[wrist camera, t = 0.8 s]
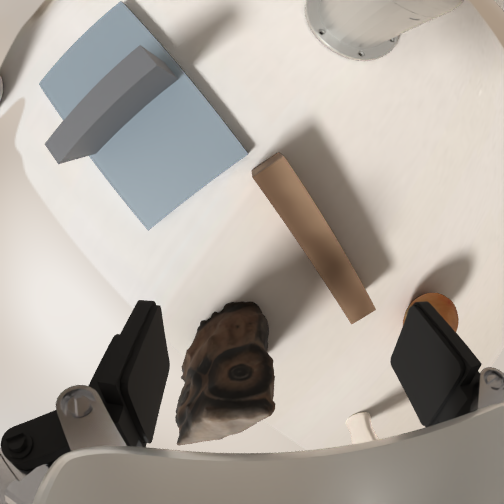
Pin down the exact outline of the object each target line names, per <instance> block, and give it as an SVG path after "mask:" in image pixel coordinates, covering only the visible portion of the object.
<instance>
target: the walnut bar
mask: <svg viewBox="0 0 504 504" xmlns="http://www.w3.org/2000/svg"><path fill="white" fill-rule="evenodd" d="M252 177H253V179H254V180H255V182H256V183H257V184H258V186H259V187H260V189H261V190H262V191H263V193H264V194H265V196H266V197H267V198H268V200H269V201H270V203H271V204H272V205H273V207H274V208H275V210H276V211H277V213H278V214H279V215H280V217H281V218H282V220H283V221H284V223H285V224H286V226H287V227H288V228H289V230H290V231H291V233H292V234H293V236H294V237H295V239H296V240H297V242H298V243H299V245H300V246H301V247H302V249H303V250H304V252H305V253H306V255H307V256H308V258H309V259H310V261H311V262H312V264H313V265H314V267H315V268H316V270H317V271H318V273H319V274H320V276H321V278H322V279H323V281H324V282H325V284H326V285H327V287H328V288H329V290H330V291H331V293H332V294H333V296H334V298H335V299H336V301H337V302H338V304H339V305H340V307H341V308H342V310H343V312H344V313H345V315H346V316H347V318H348V320H349V321H350V323H351V324H353V323H355V322H357V321H358V320H360V319H362V318H363V317H365V316H366V315H368V314H370V313H371V312H373V311H374V310H376V309H375V307H374V305H373V303H372V301H371V299H370V297H369V295H368V293H367V292H366V290H365V288H364V286H363V284H362V282H361V281H360V279H359V277H358V275H357V273H356V272H355V270H354V268H353V266H352V264H351V263H350V261H349V259H348V257H347V256H346V254H345V252H344V250H343V249H342V247H341V245H340V244H339V242H338V240H337V239H336V237H335V235H334V234H333V232H332V230H331V229H330V227H329V225H328V224H327V222H326V220H325V219H324V217H323V215H322V214H321V212H320V211H319V209H318V207H317V206H316V204H315V203H314V201H313V199H312V198H311V196H310V195H309V193H308V192H307V190H306V189H305V187H304V185H303V184H302V182H301V181H300V179H299V178H298V176H297V175H296V173H295V172H294V170H293V169H292V167H291V166H290V164H289V163H288V161H287V160H286V158H285V157H284V156H283V155H282V154H280V153H279V152H278V153H277V154H275V155H274V156H272V157H271V158H269V159H268V160H266V161H265V162H263V163H262V164H260V165H259V166H257V167H256V168H255V169H253V170H252Z"/></svg>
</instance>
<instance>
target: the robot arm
mask: <svg viewBox="0 0 504 504" xmlns="http://www.w3.org/2000/svg"><path fill="white" fill-rule="evenodd" d="M494 1H495V2H496V3H497V4H498V5H499V6H500V8H501V9H502V10H503V11H504V0H494ZM462 2H463V0H307V1H306V5H305V16H306V19H307V23H308V25H309V27H310V29H311V31H312V32H313V34H314V35H315V36H316V38H317V39H318V40H319V41H320V42H321V43H322V44H323V45H324V46H326V47H327V48H328V49H330V50H331V51H333V52H335V53H337V54H338V55H340V56H343V57H346V58H348V59H353V60H358V61H369V60H375V59H378V58H380V57H383V56H384V55H386V54H388V53H389V52H390V51H391V50H392V49H393V48H394V46H395V45H396V43H397V40H398V35H400V34H402V33H404V32H406V31H408V30H410V29H413V28H415V27H417V26H419V25H421V24H424V23H426V22H428V21H430V20H433V19H435V18H437V17H440V16H442V15H444V14H447V13H449V12H451V11H453V10H455V9H456V8H457V7H459V6H460V5H461V3H462ZM319 32H321V33H322V35H321V34H320V33H319ZM358 53H359V54H360V55H361V56H359V54H358ZM169 366H170V363H169V357H168V351H167V345H166V339H165V332H164V326H163V319H162V312H161V307H160V306H158V305H156V303H155V302H154V301H144V300H139V301H138V302H137V304H136V306H135V308H134V309H133V311H132V313H131V315H130V317H129V319H128V321H127V322H126V324H125V326H124V328H123V330H122V332H121V334H120V335H119V334H117V335H115V336H114V337H113V339H112V341H111V343H110V344H109V346H108V348H107V350H106V352H105V354H104V356H103V358H102V360H101V362H100V364H99V366H98V368H97V370H96V372H95V374H94V376H93V378H92V380H91V382H90V384H89V386H85V385H76V386H72V387H69V388H67V389H65V390H64V391H63V392H62V393H61V394H60V395H59V397H58V398H57V401H56V410H55V411H53V412H50V413H48V414H45V415H42V416H40V417H37V418H35V419H32V420H30V421H27V422H25V423H22V424H19V425H17V426H14V427H12V428H10V429H9V430H7V431H6V432H5V434H4V435H3V437H2V441H1V448H0V504H504V373H502V372H501V371H500V370H498V369H496V368H492V367H487V368H484V369H483V370H482V371H481V373H479V372H478V370H479V368H480V366H481V363H480V361H479V360H478V359H477V358H476V356H475V355H474V354H473V353H472V351H471V350H470V349H469V348H468V346H467V345H466V344H465V343H464V342H463V340H462V339H461V338H460V337H459V336H458V334H457V333H456V332H455V331H454V330H453V329H452V327H451V326H450V325H449V324H448V323H447V322H446V321H445V319H444V318H443V317H442V316H441V315H440V314H439V313H438V312H437V311H436V309H435V308H434V307H433V306H432V305H431V304H430V303H429V302H427V301H424V302H415V303H414V304H413V305H412V306H411V307H410V308H409V310H408V313H407V316H406V319H405V322H404V325H403V328H402V330H401V333H400V336H399V338H398V341H397V344H396V346H395V349H394V351H393V354H392V356H391V366H392V368H393V370H394V371H395V373H396V375H397V377H398V379H399V381H400V383H401V385H402V386H403V388H404V390H405V392H406V394H407V396H408V398H409V400H410V402H411V404H412V406H413V408H414V410H415V412H416V414H417V416H418V418H419V420H420V422H421V424H422V425H423V426H425V427H426V428H423V429H419V430H416V431H412V432H408V433H404V434H400V435H396V436H392V437H388V438H383V439H379V440H374V441H369V442H364V443H358V444H353V445H347V446H340V447H333V448H325V449H317V450H307V451H295V452H281V453H250V454H249V453H248V454H247V453H206V452H189V451H179V450H169V449H156V448H146V443H151V442H152V439H153V435H154V430H155V426H156V421H157V417H158V413H159V409H160V404H161V401H162V397H163V392H164V389H165V385H166V381H167V377H168V373H169Z"/></svg>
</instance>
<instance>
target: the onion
mask: <svg viewBox="0 0 504 504" xmlns="http://www.w3.org/2000/svg"><path fill="white" fill-rule="evenodd" d="M424 301H427V302H429V303H430V304H431V305H432V306H433V307H434V308H435V309H436V311H437V312H438V313H439V314H440V315H441V316H442V317H443V318H444V319H445V321H446V322H447V323H448V324H449V325H450V326H451V327H452V329H453V330H454V331H455V332H456V331H457V327H458V314H457V310H456V307H455V305H454V304H453V302H452V301H451V300H450V299H449V298H447V297H446V296H444V295H442V294H439V293H426V294H424V295H421V296H420V297H418V298H416V299H415V300H414V301H413V302H412V303H411V304H410V305H409V307H408V308H407V310H406V312H405V316H404V320H403V325H404V322H405V319H406V316H407V313H408V310H409V308H410V307H411V306H412V305H413V304H414V303H415V302H424Z"/></svg>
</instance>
